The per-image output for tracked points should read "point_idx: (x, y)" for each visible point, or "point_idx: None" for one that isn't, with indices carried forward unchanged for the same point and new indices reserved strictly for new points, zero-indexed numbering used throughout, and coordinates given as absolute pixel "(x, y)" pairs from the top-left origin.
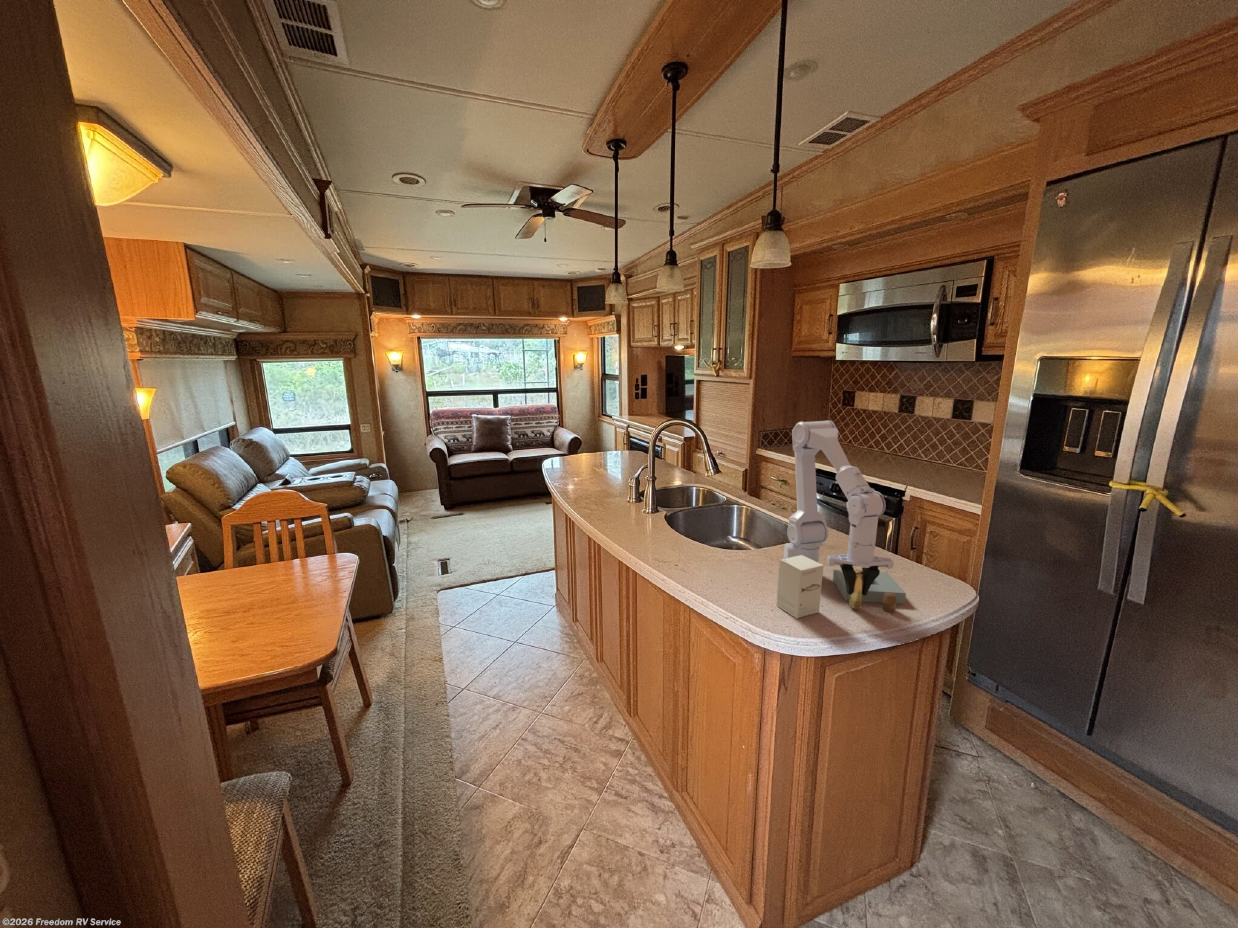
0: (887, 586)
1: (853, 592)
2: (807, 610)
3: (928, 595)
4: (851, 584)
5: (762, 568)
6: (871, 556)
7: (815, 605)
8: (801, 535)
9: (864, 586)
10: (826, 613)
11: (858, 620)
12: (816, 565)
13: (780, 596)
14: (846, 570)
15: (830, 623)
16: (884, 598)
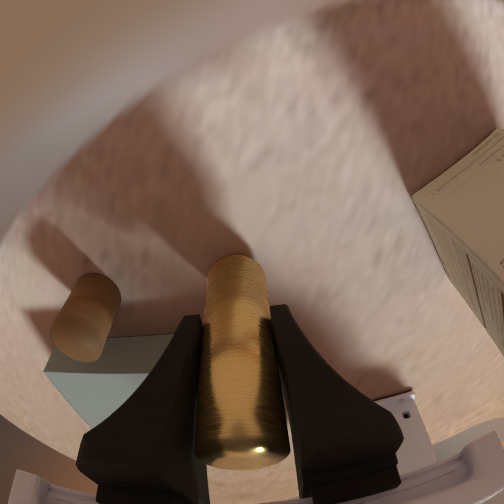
0: (103, 403)
1: (261, 317)
2: (479, 161)
3: (23, 382)
4: (293, 350)
5: (446, 404)
6: None
7: (454, 193)
8: None
9: (194, 362)
10: (380, 193)
11: (237, 159)
12: None
13: None
14: (390, 440)
15: (385, 100)
16: (100, 325)
